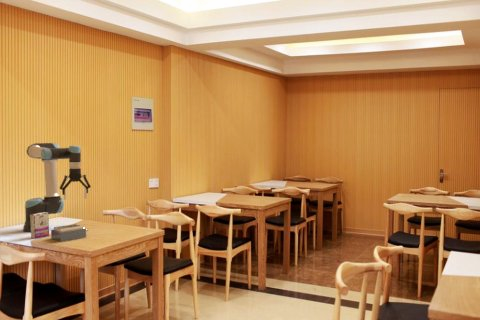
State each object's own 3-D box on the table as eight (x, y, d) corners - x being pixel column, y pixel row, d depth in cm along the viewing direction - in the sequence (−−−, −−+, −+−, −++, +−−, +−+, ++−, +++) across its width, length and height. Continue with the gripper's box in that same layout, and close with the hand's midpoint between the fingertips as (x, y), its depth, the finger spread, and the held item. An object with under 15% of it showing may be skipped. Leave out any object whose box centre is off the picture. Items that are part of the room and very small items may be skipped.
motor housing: (51, 238, 311) (51, 226, 311) (82, 233, 328) (82, 222, 328) (60, 241, 302) (60, 229, 301) (92, 236, 319) (92, 224, 318)
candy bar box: (44, 234, 323) (44, 211, 322) (49, 235, 320) (48, 212, 319) (30, 237, 313) (29, 214, 312) (34, 238, 311) (34, 214, 310)
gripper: (57, 169, 303) (57, 200, 305) (94, 167, 317) (95, 198, 318) (54, 168, 310) (55, 199, 311) (92, 167, 323) (92, 196, 325)
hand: (75, 198), depth 315 cm, fingers open, 13 cm apart
